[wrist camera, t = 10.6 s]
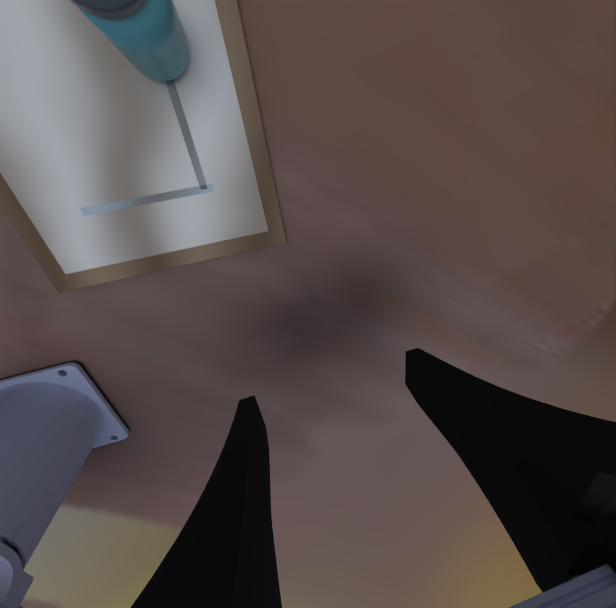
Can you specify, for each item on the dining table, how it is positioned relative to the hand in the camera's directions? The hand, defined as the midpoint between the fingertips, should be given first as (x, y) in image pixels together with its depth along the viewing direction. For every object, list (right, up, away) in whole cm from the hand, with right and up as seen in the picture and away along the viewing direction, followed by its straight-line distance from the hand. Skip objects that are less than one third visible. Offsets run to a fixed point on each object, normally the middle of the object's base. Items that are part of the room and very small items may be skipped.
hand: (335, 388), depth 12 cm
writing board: (-11, +13, +2) cm, 17 cm away
